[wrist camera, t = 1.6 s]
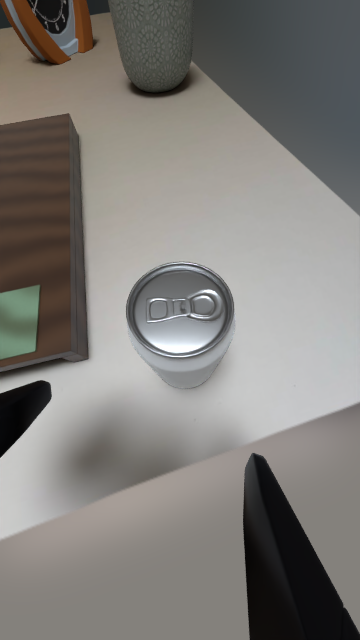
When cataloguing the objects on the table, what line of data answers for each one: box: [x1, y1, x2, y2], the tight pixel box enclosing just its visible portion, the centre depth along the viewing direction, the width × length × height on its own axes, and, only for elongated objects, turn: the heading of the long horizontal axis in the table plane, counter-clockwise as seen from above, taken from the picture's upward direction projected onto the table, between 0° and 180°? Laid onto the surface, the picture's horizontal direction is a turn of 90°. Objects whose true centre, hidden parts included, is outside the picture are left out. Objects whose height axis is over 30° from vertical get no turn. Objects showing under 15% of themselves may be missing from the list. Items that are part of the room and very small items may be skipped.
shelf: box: [0, 113, 88, 372], centre depth 29 cm, size 48×14×4 cm, turn 13°
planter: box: [108, 0, 194, 92], centre depth 42 cm, size 17×17×15 cm
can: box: [126, 262, 236, 389], centre depth 16 cm, size 6×6×12 cm
